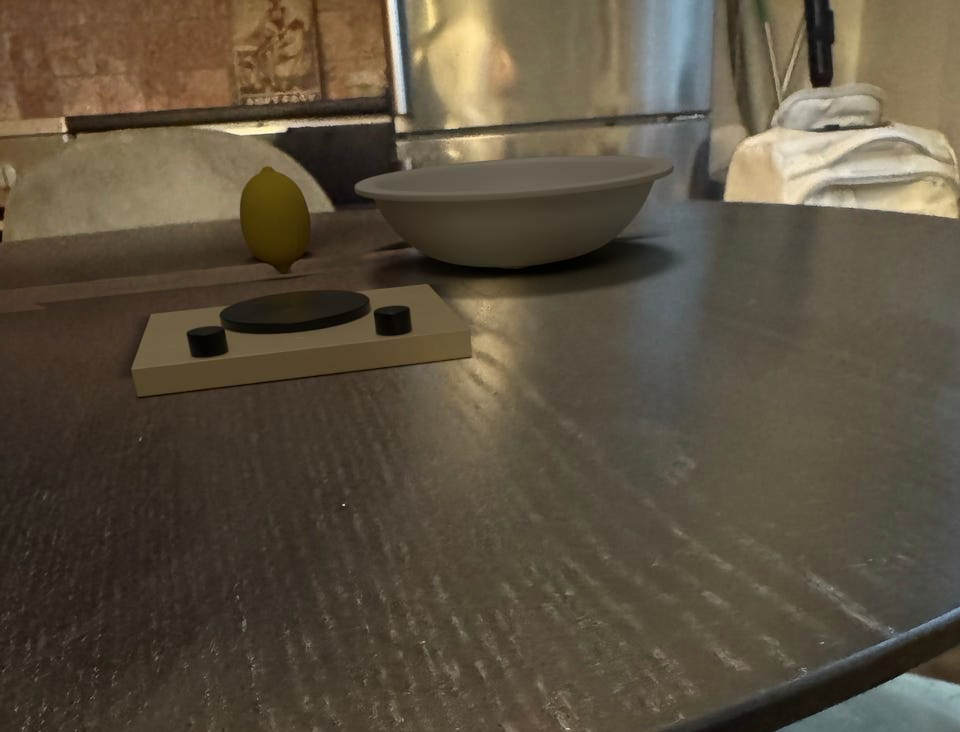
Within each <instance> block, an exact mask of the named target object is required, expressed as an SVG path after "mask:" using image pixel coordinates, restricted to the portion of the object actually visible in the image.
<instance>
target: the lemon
mask: <svg viewBox="0 0 960 732" xmlns="http://www.w3.org/2000/svg"><path fill="white" fill-rule="evenodd" d="M308 207H309V206H308V203H307V201H306V199H305V196H304V194H303V191H302V190H301V188H300V186H298V184H297V183H296V182H295V181H294V180H293V179H292V178H291V177H288V175H286V174H284V173H282V172H279V171H276V170H275V169H274V168H273V167H272V166H268V165H267V166H264V167H262V168H261V169H260V172H259V173H257V174H255V175H254V176H252V177H251V178H250V179H249V180H248V182H247V183H246V184H245V186H244V187H243V189H242V191H241V195H240V201H239V221H240V227H241V232H242V235H243V239H244V241H245V244H246V245H247V247H248V249H249V251H250V252H251V253H252V254H253V255H254V257H255V258H257V259H258V260H259V261H261V262H264V263H265V264H266V265H269V266H271V267H273V268H274V269H275V270H276V271H277V272H278V273H279V274H286V273H288V272H289V270H291V267H292V266H293V264H295V263H296V262H297V261H299V260H300V258H302V257H303V256H304V254H305V253H306V252H307V249H308V248H309V245H310V241H311V235H312V224H311V223H312V222H311V216H310V211H309V208H308Z"/></svg>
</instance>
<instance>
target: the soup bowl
mask: <svg viewBox="0 0 960 732" xmlns="http://www.w3.org/2000/svg"><path fill="white" fill-rule="evenodd" d="M674 169H675V167H674V164H673V162H671V161H669V160H666V159H662V158H658V157H657V158H656V157H650V156H648V157H647V156H637V155H636V156H635V155H609V154H606V155H605V154H603V155H598V154H597V155H595V154H594V155H590V154H589V155H587V154H586V155H554V156H534V157H533V156H532V157H516V158H503V159H502V158H501V159H490V160H489V159H488V160H478V161H476V160H475V161H467V162H457V163H448V164H447V163H446V164H440V165H439V164H438V165H432V166H424V167H418V168H417V167H416V168H410V169H404V170H399V171H393V172H387V173H384V174H379V175H375V176H374V175H373V176H371V177H368V178H365V179H363V180H360V181H358V182H356V183H355V184H354V192H355V194H356V195H358V196H360V197H363V198H367V199H371V200H373V201H374V202H375V205H376V207H377V208H378V211H379V212H380V213H381V215H382V217H383V218H384V220H385V221H386V223H387V224H388V225H389V226H390V227H391V229H392V230H393V231H394V232H395V233H396V234H397V235H398V237H400V238H401V239H402V240H403V241H404V242H405V243H406V244H408V245H409V246H411V247H412V248H413V249H415V250H416V251H418V252H419V253H421V254H423V255H425V256H427V257H430V258H432V259H434V260H437V261H440V262H444V263H448V264H453V265H458V266H465V267H475V268H503V269H516V268H517V269H518V268H527V267H532V266H538V265H540V266H541V265H545V264H551V263H557V262H562V261H566V260H570V259H574V258H577V257H580V256H583V255H586V254H589V253H591V252H593V251H595V250H598V249H600V248H601V247H603V246H605V245H607V244H609V243H610V242H611V241H612V240H614V239H615V238H616V237H617V236H619V235H620V234H621V233H622V232H623V231H624V230H625V229H626V228H627V227H628V226H629V225H630V224H631V223H632V222H633V221H634V219H635V218H636V217H637V215H638V214H639V212H640V211H641V209H642V208H643V206H644V204H645V203H646V201H647V199H648V197H649V195H650V193H651V191H652V188H653V186H654V183H655V181H657V180H660V179H664V178H665V177H668V176H669V175H671V174H673V172H674Z"/></svg>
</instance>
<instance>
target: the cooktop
mask: <svg viewBox="0 0 960 732" xmlns="http://www.w3.org/2000/svg"><path fill="white" fill-rule="evenodd" d="M149 315H150V316H149V318H148V321H147V324H146V326H145V330H144V332H143V335H142V338H141V341H140V344H139V346H138V349H137V352H136V354H135V358H134V360H133V362H132V365H131V368H130V371H131V375H132V379H133V384H134V387H135V391H136V395H137V397H138V398H142V397H143V398H145V397H150V396H151V397H152V396H158V395H160V396H161V395H168V394H176V393H184V392H192V391H200V390H209V389H215V388H216V389H217V388H224V387H225V388H226V387H233V386H241V385H250V384H258V383H267V382H275V381H282V380H284V381H285V380H291V379H299V378H307V377H315V376H316V377H317V376H323V375H332V374H341V373H349V372H357V371H366V370H373V369H381V368H382V369H383V368H389V367H398V366H407V365H415V364H422V363H431V362H439V361H448V360H455V359H464V358H471V357H472V356H473V351H472V349H473V348H472V335H471V329H470V328H469V327H468V326H467V325H466V323H465V322H464V321H463V320H462V319H461V318H460V317H459V316H458V315H457V313H455V311H453V310H452V308H451V307H450V306H449V305H448V304H447V303H446V301H444V300H443V298H441V296H439V294H438V293H437V292H436V291H435V290H434V289H433V288H432V287H431V285H429V284H428V283H424V284H414V285H404V286H396V287H395V286H394V287H386V288H377V289H367V290H360V291H359V290H358V291H351V290H342V289H315V290H314V289H312V290H311V289H310V290H298V291H289V292H281V293H274V294H268V295H263V296H257V297H253V298H249V299H245V300H242V301H239V302H236V303H233V304H231V305H222V306H212V307H204V308H203V307H202V308H194V309H186V310H176V311H167V312H159V313H150V314H149Z"/></svg>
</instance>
